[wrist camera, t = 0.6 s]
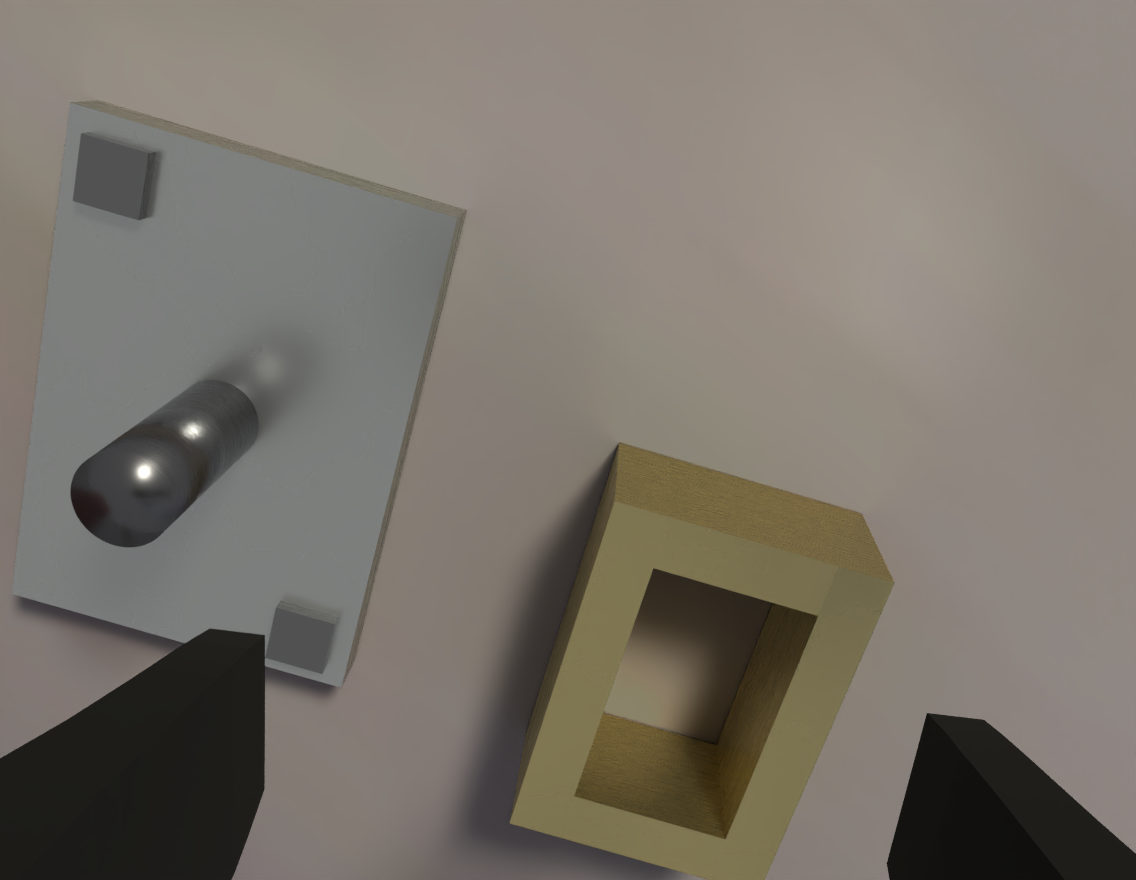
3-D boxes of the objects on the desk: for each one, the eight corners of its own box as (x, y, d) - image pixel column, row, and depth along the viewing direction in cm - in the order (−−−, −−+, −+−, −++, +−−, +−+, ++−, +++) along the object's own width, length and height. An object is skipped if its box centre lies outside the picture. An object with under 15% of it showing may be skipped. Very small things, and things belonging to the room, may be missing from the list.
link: (745, 794, 24) (758, 893, 21) (526, 732, 24) (509, 823, 21) (862, 513, 21) (894, 582, 19) (619, 442, 21) (615, 501, 18)
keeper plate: (353, 662, 23) (279, 814, 19) (37, 572, 23) (-119, 702, 18) (466, 211, 20) (410, 256, 15) (97, 100, 20) (-76, 112, 15)
